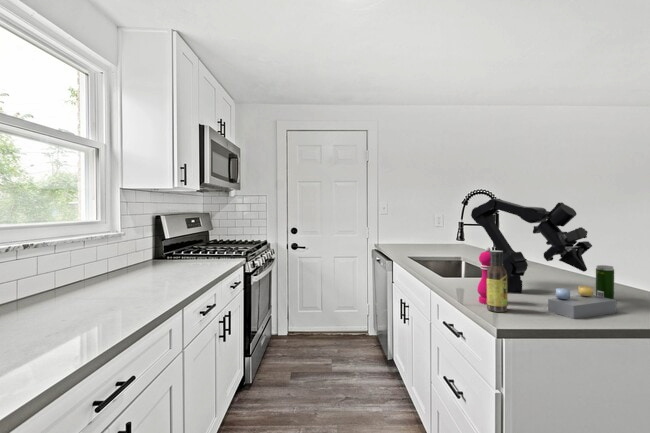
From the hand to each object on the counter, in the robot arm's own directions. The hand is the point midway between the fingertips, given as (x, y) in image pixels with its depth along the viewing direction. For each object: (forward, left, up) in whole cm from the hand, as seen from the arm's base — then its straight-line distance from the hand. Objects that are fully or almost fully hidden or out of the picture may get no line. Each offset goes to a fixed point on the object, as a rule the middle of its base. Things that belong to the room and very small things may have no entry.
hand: (585, 270), depth 126 cm
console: (-2, -5, -13) cm, 14 cm away
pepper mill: (-30, 0, -13) cm, 33 cm away
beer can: (+10, +15, -13) cm, 22 cm away
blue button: (-8, -6, -11) cm, 15 cm away
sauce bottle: (-28, -10, -13) cm, 32 cm away
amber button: (0, 0, -11) cm, 11 cm away
